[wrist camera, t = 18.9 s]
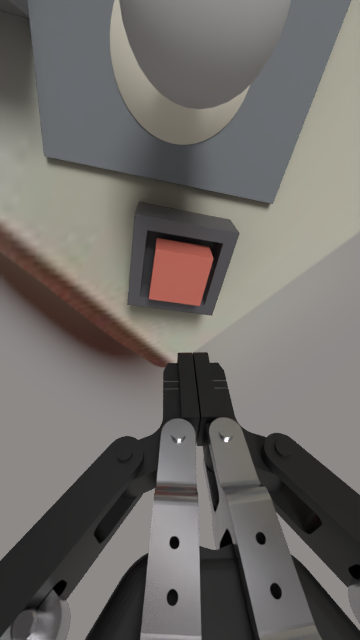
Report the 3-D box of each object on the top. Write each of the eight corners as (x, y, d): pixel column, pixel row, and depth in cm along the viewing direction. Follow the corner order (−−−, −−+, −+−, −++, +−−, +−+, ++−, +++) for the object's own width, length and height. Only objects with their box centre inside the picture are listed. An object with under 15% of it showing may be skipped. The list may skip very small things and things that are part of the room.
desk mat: (46, 155, 19) (43, 156, 18) (6, -237, 11) (-2, -253, 10) (270, 202, 22) (273, 204, 21) (377, -79, 13) (385, -87, 13)
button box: (131, 285, 26) (127, 304, 23) (138, 202, 21) (134, 213, 18) (207, 295, 27) (211, 315, 24) (230, 219, 22) (239, 233, 20)
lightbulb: (198, 136, 18) (231, 146, 9) (119, 69, 16) (66, 1, 7) (258, 30, 15) (387, -98, 6) (172, -70, 13) (190, -477, 4)
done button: (150, 284, 23) (148, 299, 21) (156, 237, 20) (155, 249, 19) (196, 291, 24) (199, 305, 22) (209, 246, 21) (213, 258, 19)
